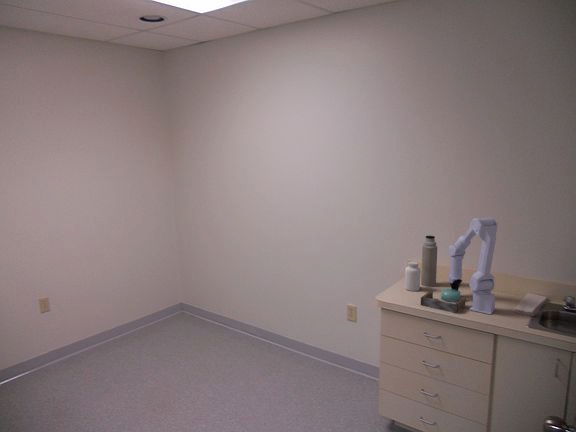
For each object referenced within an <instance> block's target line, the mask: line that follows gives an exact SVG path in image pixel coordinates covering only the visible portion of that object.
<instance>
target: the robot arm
mask: <svg viewBox="0 0 576 432" xmlns="http://www.w3.org/2000/svg"><path fill="white" fill-rule="evenodd" d="M498 227H499V225H498V222H497V220H496V219H495V218H494V217H492V216H490V217H481V218H479V217H478V218H477V217H474V218H472V220H471V221H470V223H469V228H468V229H467V230H466V232H465V234H464V235H460V236H458V237H459V238H458V239H457V240H456V241H455V242H454V244H450V245H449V247H448V249H447V250H448V251H447V252H448V255H449V256H450V259H449V260H450V262H449V274H447V278H448V283H449V285H450V289H455V290H458V291H459V288H460V286H461V283H462V282H463V259H464V257H465V254H466V250H467V248H468V247H469V246H470V245H471V243H472V241H471V240H472V239H473V238H474V237H475V236H476V235H477V237H478V238H480V239H481V246H480V252H479V259H478V265H477V271H476V272H474V273H473V274H472V275H471V279H470V280H469V283H468V284H469V288H470V290H471V292H472V304H471V305H472V306H471V307H470V308H469V310H470V311H473V312H478V313H482V314H488V315H492V313H493V312H494V311H495V310H496V294H495V293H492V291H493V290H494V288H495V276H494V275H493V274H492V273H491V269H492V262H493V258H494V252H495V247H496V246H495V245H496V243H497V242H496V241H497V232H498Z"/></svg>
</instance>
